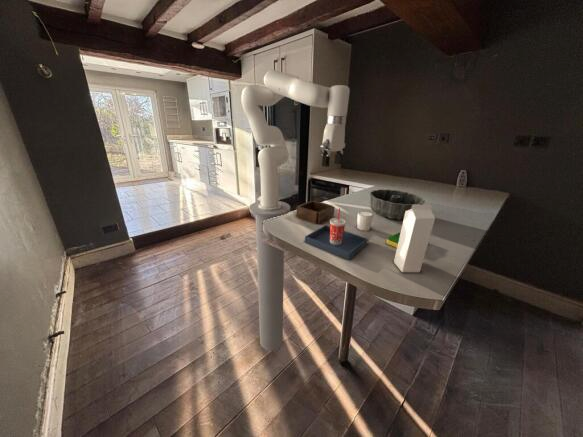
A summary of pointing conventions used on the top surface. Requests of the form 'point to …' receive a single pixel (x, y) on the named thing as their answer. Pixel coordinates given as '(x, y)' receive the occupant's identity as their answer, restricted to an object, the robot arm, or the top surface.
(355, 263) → the top surface
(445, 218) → the top surface
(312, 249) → the top surface
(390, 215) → the bundt pan
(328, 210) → the basket
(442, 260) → the top surface
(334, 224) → the beverage cup
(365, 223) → the white cylinder
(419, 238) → the milk
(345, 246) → the tray
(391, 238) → the dish sponge
